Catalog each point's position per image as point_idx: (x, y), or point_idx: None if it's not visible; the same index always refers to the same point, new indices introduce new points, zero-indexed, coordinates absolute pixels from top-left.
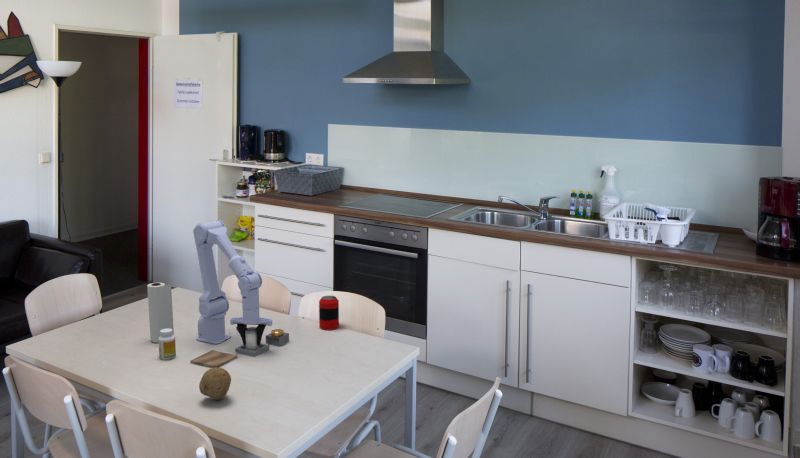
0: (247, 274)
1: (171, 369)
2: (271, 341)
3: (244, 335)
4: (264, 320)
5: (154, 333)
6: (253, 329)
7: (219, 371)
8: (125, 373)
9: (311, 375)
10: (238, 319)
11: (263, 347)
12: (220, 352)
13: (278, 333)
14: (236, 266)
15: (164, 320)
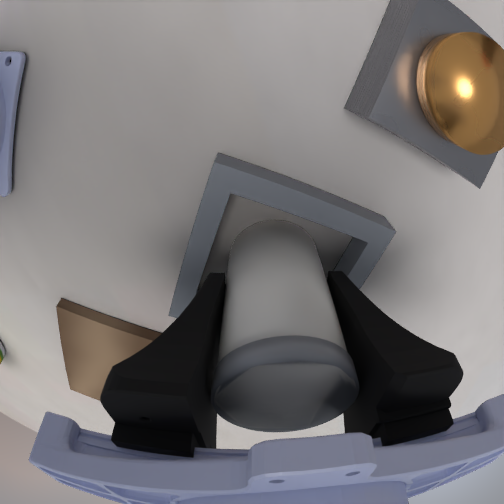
0: None
1: (66, 407)
2: (404, 139)
3: (216, 363)
4: (448, 473)
5: None
6: (309, 405)
7: None
8: (10, 403)
9: (480, 393)
10: (127, 496)
11: (361, 281)
12: (112, 332)
13: (492, 151)
14: None
15: None
